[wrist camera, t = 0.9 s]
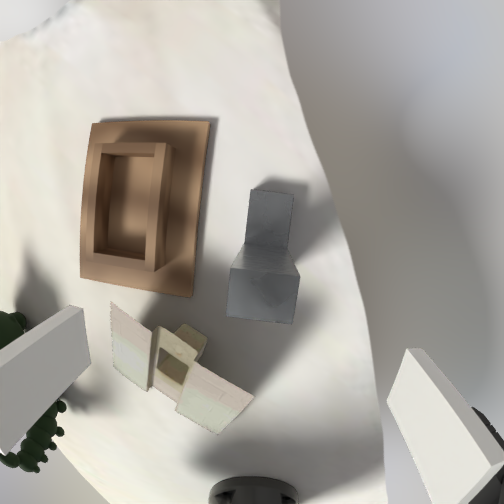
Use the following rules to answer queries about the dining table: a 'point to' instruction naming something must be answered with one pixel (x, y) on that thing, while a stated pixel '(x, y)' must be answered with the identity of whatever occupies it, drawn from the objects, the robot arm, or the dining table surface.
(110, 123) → the brown wooden flat frame
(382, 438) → the dining table surface
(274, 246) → the bracket
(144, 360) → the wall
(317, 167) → the dining table surface
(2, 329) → the toy figurine
